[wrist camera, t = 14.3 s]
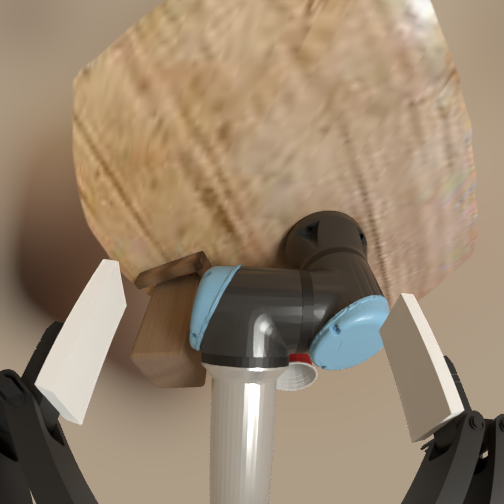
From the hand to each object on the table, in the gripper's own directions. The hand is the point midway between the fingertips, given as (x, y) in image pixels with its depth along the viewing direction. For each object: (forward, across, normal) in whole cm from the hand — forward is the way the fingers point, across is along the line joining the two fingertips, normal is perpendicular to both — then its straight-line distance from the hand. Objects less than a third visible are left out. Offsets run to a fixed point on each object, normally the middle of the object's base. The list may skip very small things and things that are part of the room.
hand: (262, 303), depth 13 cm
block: (+35, +10, +33) cm, 49 cm away
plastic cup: (+35, -14, +44) cm, 58 cm away
